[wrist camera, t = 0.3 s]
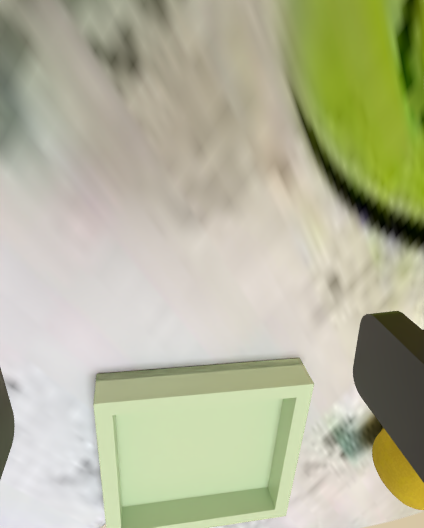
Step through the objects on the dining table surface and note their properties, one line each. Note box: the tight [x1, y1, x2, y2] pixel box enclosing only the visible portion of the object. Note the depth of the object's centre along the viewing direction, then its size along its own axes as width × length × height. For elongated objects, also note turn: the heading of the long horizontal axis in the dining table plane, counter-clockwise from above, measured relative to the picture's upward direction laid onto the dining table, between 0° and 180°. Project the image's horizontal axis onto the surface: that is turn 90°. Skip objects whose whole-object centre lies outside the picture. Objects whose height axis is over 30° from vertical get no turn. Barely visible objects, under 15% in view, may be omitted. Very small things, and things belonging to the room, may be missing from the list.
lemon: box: [372, 428, 424, 510], centre depth 36 cm, size 6×6×8 cm
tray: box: [93, 358, 314, 528], centre depth 34 cm, size 16×16×3 cm
